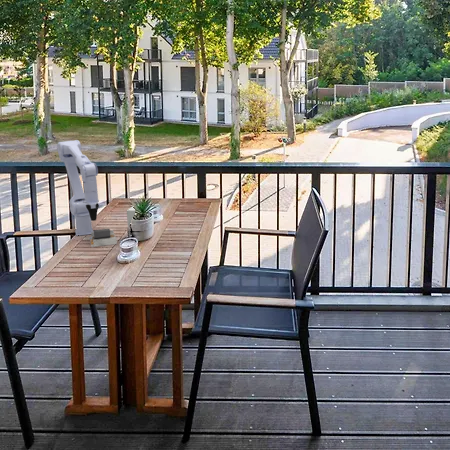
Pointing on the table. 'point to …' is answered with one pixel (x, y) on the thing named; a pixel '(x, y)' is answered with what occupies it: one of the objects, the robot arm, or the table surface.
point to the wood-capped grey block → (101, 233)
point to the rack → (103, 240)
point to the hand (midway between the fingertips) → (93, 220)
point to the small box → (130, 214)
